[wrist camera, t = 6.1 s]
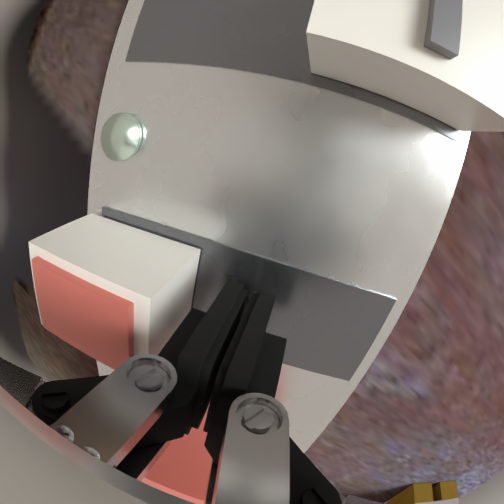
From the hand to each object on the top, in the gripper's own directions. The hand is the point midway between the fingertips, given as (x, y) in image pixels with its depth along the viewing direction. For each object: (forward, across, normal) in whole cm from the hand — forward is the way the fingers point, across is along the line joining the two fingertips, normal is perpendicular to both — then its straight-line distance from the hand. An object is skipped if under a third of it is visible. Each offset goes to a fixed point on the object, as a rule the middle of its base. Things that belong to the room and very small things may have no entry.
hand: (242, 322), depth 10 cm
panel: (+2, +1, 0) cm, 2 cm away
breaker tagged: (+1, +5, 0) cm, 5 cm away
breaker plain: (+1, -2, -10) cm, 10 cm away
